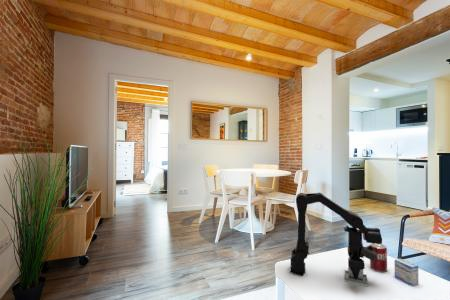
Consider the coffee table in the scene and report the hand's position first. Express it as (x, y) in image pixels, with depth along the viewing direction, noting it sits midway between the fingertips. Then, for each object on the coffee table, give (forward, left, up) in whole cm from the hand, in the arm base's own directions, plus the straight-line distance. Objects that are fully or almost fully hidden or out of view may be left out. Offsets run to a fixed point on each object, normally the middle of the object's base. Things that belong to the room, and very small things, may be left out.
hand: (355, 274), depth 107 cm
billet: (0, 0, -2) cm, 2 cm away
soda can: (+11, +17, -3) cm, 20 cm away
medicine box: (+21, +10, -3) cm, 23 cm away
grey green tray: (0, 0, -3) cm, 3 cm away
